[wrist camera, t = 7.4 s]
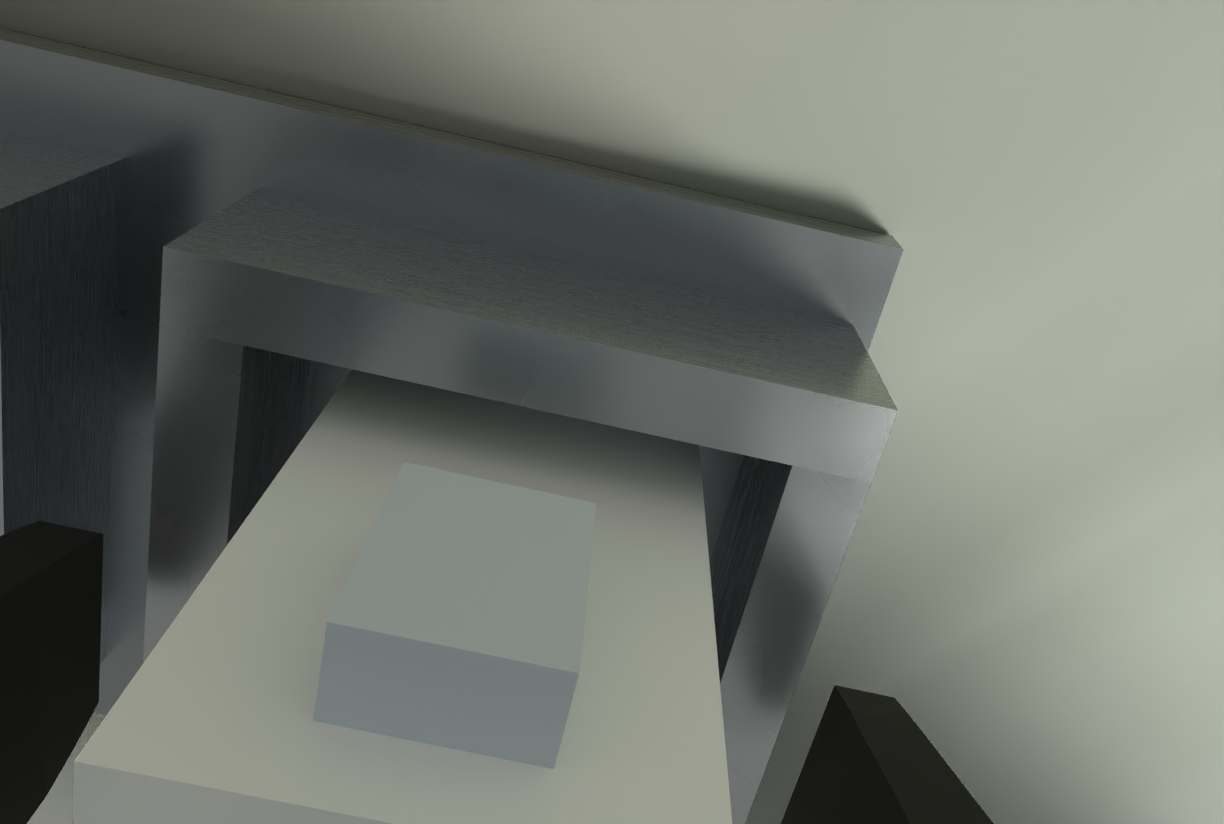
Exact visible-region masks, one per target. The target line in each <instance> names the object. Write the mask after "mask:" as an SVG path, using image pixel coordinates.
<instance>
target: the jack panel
mask: <svg viewBox="0 0 1224 824" xmlns="http://www.w3.org/2000/svg"><path fill="white" fill-rule="evenodd" d="M902 252H903V249H902V247H901V246H900V245H899V244H898V242H897V241H896V240H895V239H894V237H893V236H890V235H886V234H882V233H877V232H873V231H869V230H865V229H860V228H856V227H852V226H847V225H843V224H839V223H835V222H830V221H826V220H822V219H817V218H813V217H809V216H804V215H800V214H796V213H792V212H787V211H783V210H779V209H774V208H770V207H766V206H762V205H757V204H753V203H749V202H744V201H740V200H736V199H731V198H727V197H723V196H719V195H714V194H710V193H706V192H701V191H697V190H693V189H688V188H684V187H680V186H676V185H671V184H667V183H663V182H658V181H654V180H650V179H646V178H641V177H637V176H633V175H628V174H624V173H620V172H615V171H611V170H607V169H603V168H598V167H594V166H590V165H585V164H581V163H577V162H573V161H568V160H564V159H560V158H555V157H551V156H547V155H542V154H538V153H534V152H530V151H525V150H521V149H517V148H512V147H508V146H504V145H500V144H495V143H491V142H487V141H482V140H478V139H474V138H469V137H465V136H461V135H457V134H452V133H448V132H444V131H439V130H435V129H431V128H427V127H422V126H418V125H414V124H409V123H405V122H401V121H396V120H392V119H388V118H384V117H379V116H375V115H371V114H366V113H362V112H358V111H354V110H349V109H345V108H341V107H336V106H332V105H328V104H323V103H319V102H315V101H311V100H306V99H302V98H298V97H293V96H289V95H285V94H280V93H276V92H272V91H268V90H263V89H259V88H255V87H250V86H246V85H242V84H238V83H233V82H229V81H225V80H220V79H216V78H212V77H207V76H203V75H199V74H195V73H190V72H186V71H182V70H177V69H173V68H169V67H165V66H160V65H156V64H152V63H147V62H143V61H139V60H134V59H130V58H126V57H122V56H117V55H113V54H109V53H104V52H100V51H96V50H92V49H87V48H83V47H79V46H74V45H70V44H66V43H61V42H57V41H53V40H49V39H44V38H40V37H36V36H31V35H27V34H23V33H19V32H14V31H10V30H6V29H1V28H0V536H2V535H4V534H6V533H9V532H11V531H13V530H16V529H18V528H21V527H24V526H26V525H29V524H31V523H34V522H37V521H39V520H40V521H44V522H49V523H54V524H59V525H64V526H69V527H73V528H78V529H83V530H88V531H93V532H97V533H102V534H103V569H102V605H101V641H100V678H99V703H98V705H97V706H96V708H95V710H94V712H96V713H101V714H106V715H107V714H108V712H109V711H110V710H111V708H112V707H113V705H114V704H115V703H116V701H117V700H118V698H119V697H120V695H121V694H122V693H123V691H124V690H125V688H126V687H127V686H128V684H129V683H130V681H131V680H132V679H133V677H134V676H135V674H136V673H137V672H138V670H139V669H140V667H141V666H142V664H143V663H144V662H145V660H146V659H147V657H148V656H149V655H150V653H151V652H152V650H153V649H154V648H155V646H156V645H157V643H158V642H159V641H160V639H161V638H162V636H163V635H164V633H165V632H166V631H167V629H168V628H169V626H170V625H171V624H172V622H173V621H174V619H175V618H176V617H177V615H178V614H179V612H180V611H181V610H182V608H183V607H184V605H185V604H186V602H187V601H188V600H189V598H190V597H191V595H192V594H193V593H194V591H195V590H196V588H197V587H198V586H199V584H200V583H201V581H202V580H203V579H204V577H205V576H206V574H207V573H208V571H209V570H210V569H211V567H212V566H213V564H214V563H215V562H216V560H217V559H218V557H219V556H220V555H221V553H222V552H223V550H224V549H225V548H226V546H227V545H228V543H229V542H230V540H231V539H232V538H233V536H234V535H235V533H236V532H237V531H238V529H239V528H240V526H241V525H242V524H243V522H244V521H245V519H246V518H247V517H248V515H249V514H250V512H251V511H252V510H253V508H254V507H255V505H256V504H257V502H258V501H259V500H260V498H261V497H262V495H263V494H264V493H265V491H266V490H267V488H268V487H269V486H270V484H271V483H272V481H273V480H274V479H275V477H276V476H277V474H278V473H279V471H280V470H281V469H282V467H283V466H284V464H285V463H286V462H287V460H288V459H289V457H290V456H291V455H292V453H293V452H294V450H295V449H296V448H297V446H298V445H299V443H300V442H301V440H302V439H303V438H304V436H305V435H306V433H307V432H308V431H309V429H310V428H311V426H312V425H313V424H314V422H315V421H316V419H317V418H318V417H319V415H320V414H321V412H322V411H323V409H324V408H325V407H326V405H327V404H328V402H329V401H330V400H331V398H332V397H333V395H334V394H335V393H336V391H337V390H338V388H339V387H340V386H341V384H342V383H343V381H344V380H345V378H346V377H347V376H348V374H349V373H350V371H351V370H352V369H353V370H358V371H362V372H367V373H372V374H376V375H381V376H385V377H390V378H394V379H399V380H404V381H408V382H413V383H417V384H422V385H426V386H431V387H436V388H440V389H445V390H449V391H454V392H458V393H463V394H468V395H472V396H477V397H481V398H486V399H490V400H495V401H500V402H504V403H509V404H513V405H518V406H522V407H527V408H531V409H536V410H541V411H545V412H550V413H554V414H559V415H563V416H568V417H573V418H577V419H582V420H586V421H591V422H595V423H600V424H605V425H609V426H614V427H618V428H623V429H627V430H632V431H637V432H641V433H646V434H650V435H655V436H659V437H664V438H668V439H673V440H678V441H682V442H687V443H691V444H696V445H699V451H700V462H701V474H702V485H703V496H704V508H705V519H706V531H707V542H708V553H709V565H710V576H711V587H712V599H713V610H714V621H715V633H716V644H717V655H718V667H719V678H720V690H721V701H722V712H723V724H724V735H725V746H726V758H727V769H728V780H729V792H730V803H731V814H732V824H745V823H746V820H747V818H748V815H749V812H750V809H751V807H752V804H753V801H754V799H755V796H756V793H757V790H758V788H759V785H760V782H761V780H762V777H763V774H764V771H765V769H766V766H767V763H768V761H769V758H770V755H771V752H772V750H773V747H774V744H775V742H776V739H777V736H778V734H779V731H780V728H781V725H782V723H783V720H784V717H785V715H786V712H787V709H788V706H789V704H790V701H791V698H792V696H793V693H794V690H795V687H796V685H797V682H798V679H799V677H800V674H801V671H802V668H803V666H804V663H805V660H806V658H807V655H808V652H809V650H810V647H811V644H812V641H813V639H814V636H815V633H816V631H817V628H818V625H819V622H820V620H821V617H822V614H823V612H824V609H825V606H826V603H827V601H828V598H829V595H830V593H831V590H832V587H833V584H834V582H835V579H836V576H837V574H838V571H839V568H840V566H841V563H842V560H843V557H844V555H845V552H846V549H847V547H848V544H849V541H850V538H851V536H852V533H853V530H854V528H855V525H856V522H857V519H858V517H859V514H860V511H861V509H862V506H863V503H864V500H865V498H866V495H867V492H868V490H869V487H870V484H871V482H872V479H873V476H874V473H875V471H876V468H877V465H878V463H879V460H880V457H881V454H882V452H883V449H884V446H885V444H886V441H887V438H888V435H889V433H890V430H891V427H892V425H893V422H894V419H895V416H896V414H897V411H898V410H897V408H896V406H895V404H894V402H893V400H892V399H891V397H890V395H889V393H888V391H887V389H886V387H885V385H884V383H883V381H882V379H881V377H880V375H879V374H878V372H877V370H876V368H875V366H874V364H873V362H872V360H871V358H870V356H869V354H868V350H869V347H870V344H871V341H872V338H873V335H874V332H875V330H876V327H877V324H878V321H879V318H880V315H881V312H882V309H883V307H884V304H885V301H886V298H887V295H888V292H889V289H890V286H891V283H892V281H893V278H894V275H895V272H896V269H897V266H898V263H899V260H900V258H901V255H902Z"/></svg>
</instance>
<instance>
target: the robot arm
mask: <svg viewBox="0 0 1224 824" xmlns="http://www.w3.org/2000/svg"><path fill="white" fill-rule="evenodd" d="M102 569H103V534H102V533H97V532H93V531H88V530H83V529H78V528H73V527H69V526H64V525H59V524H54V523H49V522H44V521H40V520H39V521H37V522H34V523H31V524H29V525H26V526H24V527H21V528H18V529H16V530H13V531H11V532H9V533H6V534H4V535H2V536H0V824H27V822H28V821H29V819H30V818H31V817H32V815H33V814H34V812H35V811H36V810H37V808H38V807H39V805H40V804H41V803H42V801H43V800H44V798H45V797H46V795H47V794H48V792H49V790H50V789H51V787H52V785H53V783H54V782H55V780H56V778H57V777H58V775H59V773H60V771H61V770H62V768H63V766H64V764H65V763H66V761H67V759H68V758H69V756H70V754H71V752H72V751H73V749H74V747H75V745H76V743H77V741H78V740H79V738H80V736H81V734H82V732H83V730H84V729H85V727H86V725H87V723H88V721H89V719H90V717H91V716H92V714H93V712H94V710H95V708H96V706H97V705H98V703H99V678H100V641H101V605H102ZM781 824H993V822H992V821H991V820H990V819H989V817H988V816H987V815H986V814H985V812H984V811H983V810H982V808H981V807H980V806H979V805H978V803H977V802H976V801H975V799H974V798H973V797H972V796H971V794H970V793H969V792H968V790H967V789H966V788H965V787H964V785H963V784H962V783H961V781H960V780H959V779H958V778H957V776H956V775H955V774H954V772H953V771H952V770H951V768H950V767H949V766H948V765H947V763H946V762H945V761H944V759H943V758H942V757H941V756H940V754H939V753H938V752H937V750H936V749H935V748H934V746H933V745H932V744H931V743H930V741H929V740H928V739H927V737H926V736H925V735H924V734H923V732H922V731H921V730H920V728H919V727H918V726H917V725H916V723H915V722H914V721H913V720H912V718H911V717H910V716H909V715H908V713H907V712H906V711H905V710H904V709H903V707H902V706H901V705H900V704H899V703H898V702H897V700H896V699H895V698H893V697H888V696H883V695H879V694H874V693H869V692H864V691H859V690H855V689H850V688H845V687H840V686H834V689H833V691H832V694H831V696H830V699H829V701H828V704H827V707H826V709H825V712H824V714H823V717H822V719H821V722H820V725H819V727H818V730H817V732H816V735H815V738H814V740H813V743H812V745H811V748H810V750H809V753H808V756H807V758H806V761H805V763H804V766H803V768H802V771H801V774H800V776H799V779H798V781H797V784H796V786H795V789H794V792H793V794H792V797H791V799H790V802H789V805H788V807H787V810H786V812H785V815H784V817H783V820H782V823H781Z"/></svg>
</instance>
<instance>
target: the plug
mask: <svg viewBox="0 0 1224 824" xmlns="http://www.w3.org/2000/svg"><path fill="white" fill-rule="evenodd" d="M73 824H732V814H731V803H730V792H729V780H728V769H727V758H726V746H725V735H724V724H723V712H722V701H721V690H720V678H719V667H718V655H717V644H716V633H715V621H714V610H713V599H712V587H711V576H710V565H709V553H708V542H707V531H706V519H705V508H704V496H703V485H702V474H701V462H700V451H699V445H696V444H691V443H687V442H682V441H678V440H673V439H668V438H664V437H659V436H655V435H650V434H646V433H641V432H637V431H632V430H627V429H623V428H618V427H614V426H609V425H605V424H600V423H595V422H591V421H586V420H582V419H577V418H573V417H568V416H563V415H559V414H554V413H550V412H545V411H541V410H536V409H531V408H527V407H522V406H518V405H513V404H509V403H504V402H500V401H495V400H490V399H486V398H481V397H477V396H472V395H468V394H463V393H458V392H454V391H449V390H445V389H440V388H436V387H431V386H426V385H422V384H417V383H413V382H408V381H404V380H399V379H394V378H390V377H385V376H381V375H376V374H372V373H367V372H362V371H358V370H353V369H352V370H351V371H350V373H349V374H348V376H347V377H346V378H345V380H344V381H343V383H342V384H341V386H340V387H339V388H338V390H337V391H336V393H335V394H334V395H333V397H332V398H331V400H330V401H329V402H328V404H327V405H326V407H325V408H324V409H323V411H322V412H321V414H320V415H319V417H318V418H317V419H316V421H315V422H314V424H313V425H312V426H311V428H310V429H309V431H308V432H307V433H306V435H305V436H304V438H303V439H302V440H301V442H300V443H299V445H298V446H297V448H296V449H295V450H294V452H293V453H292V455H291V456H290V457H289V459H288V460H287V462H286V463H285V464H284V466H283V467H282V469H281V470H280V471H279V473H278V474H277V476H276V477H275V479H274V480H273V481H272V483H271V484H270V486H269V487H268V488H267V490H266V491H265V493H264V494H263V495H262V497H261V498H260V500H259V501H258V502H257V504H256V505H255V507H254V508H253V510H252V511H251V512H250V514H249V515H248V517H247V518H246V519H245V521H244V522H243V524H242V525H241V526H240V528H239V529H238V531H237V532H236V533H235V535H234V536H233V538H232V539H231V540H230V542H229V543H228V545H227V546H226V548H225V549H224V550H223V552H222V553H221V555H220V556H219V557H218V559H217V560H216V562H215V563H214V564H213V566H212V567H211V569H210V570H209V571H208V573H207V574H206V576H205V577H204V579H203V580H202V581H201V583H200V584H199V586H198V587H197V588H196V590H195V591H194V593H193V594H192V595H191V597H190V598H189V600H188V601H187V602H186V604H185V605H184V607H183V608H182V610H181V611H180V612H179V614H178V615H177V617H176V618H175V619H174V621H173V622H172V624H171V625H170V626H169V628H168V629H167V631H166V632H165V633H164V635H163V636H162V638H161V639H160V641H159V642H158V643H157V645H156V646H155V648H154V649H153V650H152V652H151V653H150V655H149V656H148V657H147V659H146V660H145V662H144V663H143V664H142V666H141V667H140V669H139V670H138V672H137V673H136V674H135V676H134V677H133V679H132V680H131V681H130V683H129V684H128V686H127V687H126V688H125V690H124V691H123V693H122V694H121V695H120V697H119V698H118V700H117V701H116V703H115V704H114V705H113V707H112V708H111V710H110V711H109V712H108V714H107V715H106V717H105V718H104V719H103V721H102V722H101V724H100V725H99V726H98V728H97V729H96V731H95V732H94V734H93V735H92V736H91V738H90V739H89V741H88V742H87V743H86V745H85V746H84V748H83V749H82V750H81V752H80V753H79V755H78V756H77V757H76V759H75V760H74V784H73Z"/></svg>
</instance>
